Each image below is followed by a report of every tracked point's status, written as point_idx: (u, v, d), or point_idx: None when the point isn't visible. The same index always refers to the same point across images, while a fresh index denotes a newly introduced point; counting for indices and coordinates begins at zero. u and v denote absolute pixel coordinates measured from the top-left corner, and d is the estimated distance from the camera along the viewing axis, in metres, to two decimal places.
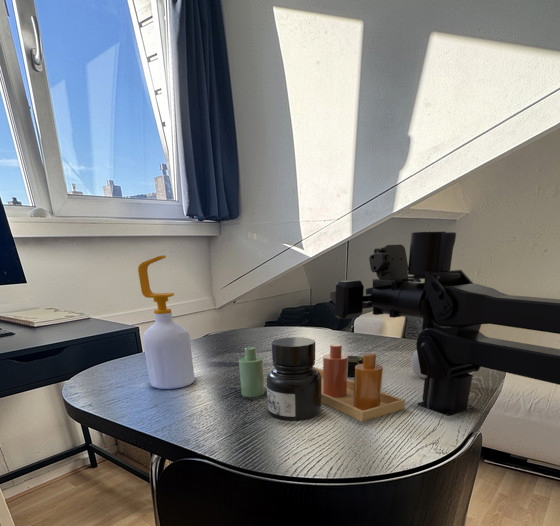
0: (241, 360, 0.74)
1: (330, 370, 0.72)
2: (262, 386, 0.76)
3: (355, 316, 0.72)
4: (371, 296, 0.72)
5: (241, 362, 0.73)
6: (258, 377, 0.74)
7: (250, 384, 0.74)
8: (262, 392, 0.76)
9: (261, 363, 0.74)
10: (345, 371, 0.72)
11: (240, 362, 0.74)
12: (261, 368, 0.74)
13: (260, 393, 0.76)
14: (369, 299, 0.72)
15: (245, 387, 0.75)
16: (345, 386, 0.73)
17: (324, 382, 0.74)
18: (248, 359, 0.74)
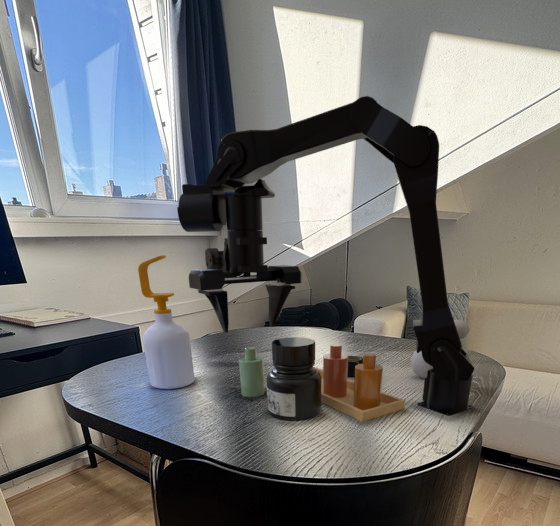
0: (241, 360, 0.74)
1: (330, 370, 0.72)
2: (262, 386, 0.76)
3: (218, 274, 0.63)
4: (229, 272, 0.67)
5: (241, 362, 0.73)
6: (258, 377, 0.74)
7: (250, 384, 0.74)
8: (262, 392, 0.76)
9: (261, 363, 0.74)
10: (345, 371, 0.72)
11: (240, 362, 0.74)
12: (261, 368, 0.74)
13: (260, 393, 0.76)
14: (228, 272, 0.67)
15: (245, 387, 0.75)
16: (345, 386, 0.73)
17: (324, 382, 0.74)
18: (248, 359, 0.74)
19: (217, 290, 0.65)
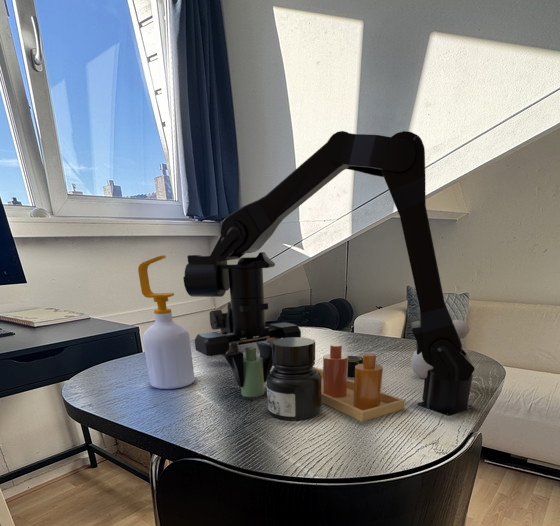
0: None
1: (330, 370, 0.72)
2: (262, 386, 0.76)
3: (222, 340, 0.67)
4: (233, 334, 0.71)
5: None
6: (258, 377, 0.74)
7: (250, 384, 0.74)
8: (262, 392, 0.76)
9: (261, 363, 0.74)
10: (345, 371, 0.72)
11: None
12: (261, 368, 0.74)
13: (260, 393, 0.76)
14: (232, 335, 0.71)
15: (245, 387, 0.75)
16: (345, 386, 0.73)
17: (324, 382, 0.74)
18: (248, 359, 0.74)
19: (234, 352, 0.70)
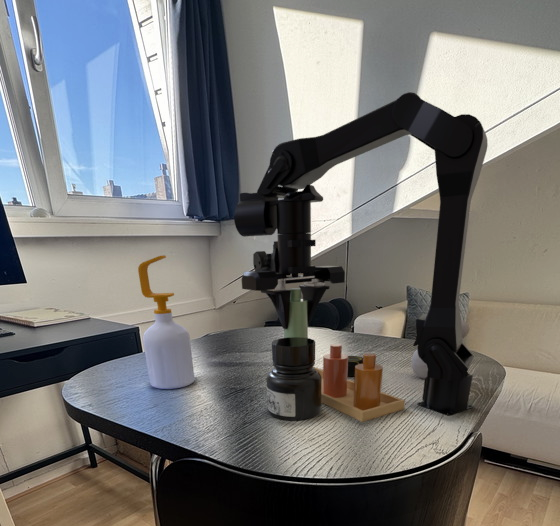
0: None
1: (330, 370, 0.72)
2: (306, 328, 0.75)
3: (271, 275, 0.67)
4: (279, 273, 0.71)
5: None
6: (303, 318, 0.74)
7: (295, 325, 0.74)
8: (306, 334, 0.76)
9: (306, 304, 0.73)
10: (345, 371, 0.72)
11: None
12: (306, 309, 0.74)
13: (304, 335, 0.75)
14: (279, 273, 0.70)
15: (289, 328, 0.74)
16: (345, 386, 0.73)
17: (324, 382, 0.74)
18: (293, 299, 0.73)
19: (281, 289, 0.70)
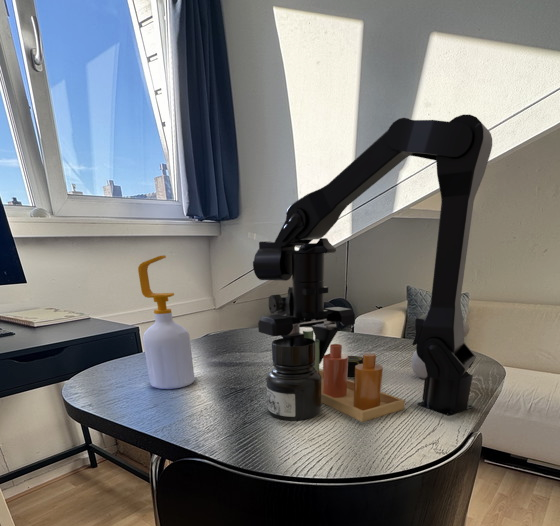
0: None
1: (330, 370, 0.72)
2: (318, 367, 0.80)
3: (287, 322, 0.71)
4: (293, 317, 0.75)
5: None
6: (315, 358, 0.78)
7: None
8: None
9: (318, 345, 0.78)
10: (345, 371, 0.72)
11: None
12: (318, 349, 0.78)
13: None
14: (293, 318, 0.75)
15: None
16: (345, 386, 0.73)
17: (324, 382, 0.74)
18: None
19: (295, 333, 0.74)
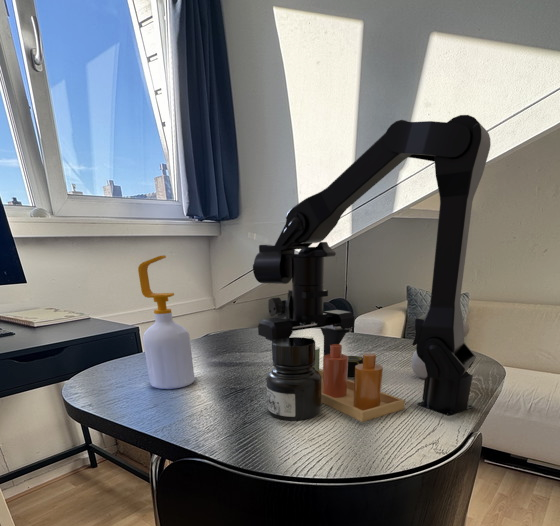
0: None
1: (330, 370, 0.72)
2: None
3: (286, 325, 0.72)
4: (293, 320, 0.76)
5: None
6: (315, 365, 0.79)
7: None
8: None
9: (318, 351, 0.78)
10: (345, 371, 0.72)
11: None
12: (318, 356, 0.79)
13: None
14: (293, 321, 0.75)
15: None
16: (345, 386, 0.73)
17: (324, 382, 0.74)
18: None
19: None
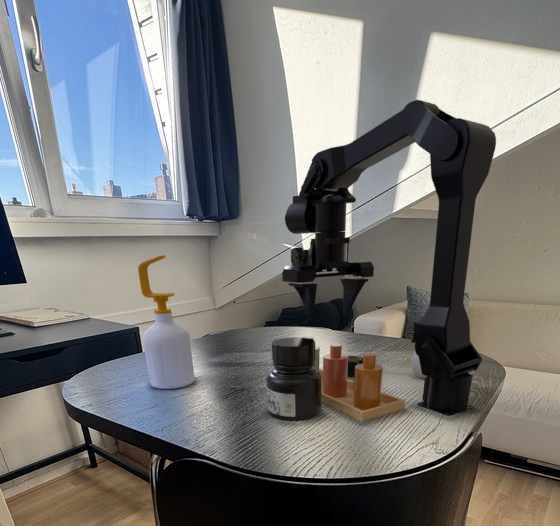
0: None
1: (330, 370, 0.72)
2: None
3: (311, 269, 0.75)
4: (316, 267, 0.79)
5: None
6: (315, 365, 0.79)
7: None
8: None
9: (318, 351, 0.78)
10: (345, 371, 0.72)
11: None
12: (318, 356, 0.79)
13: None
14: (316, 267, 0.78)
15: None
16: (345, 386, 0.73)
17: (324, 382, 0.74)
18: None
19: (308, 283, 0.76)
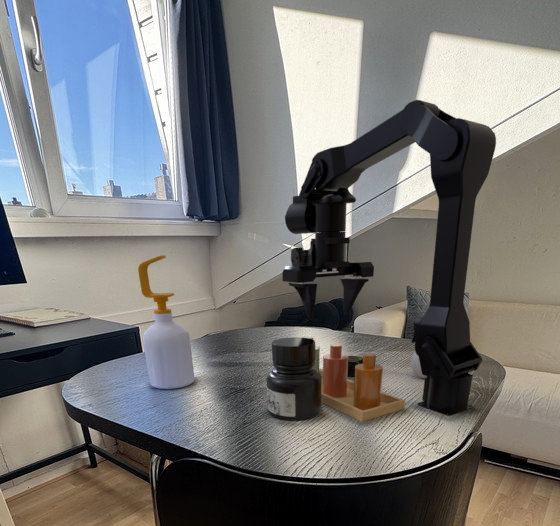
0: None
1: (330, 370, 0.72)
2: None
3: (311, 269, 0.75)
4: (316, 267, 0.79)
5: None
6: (315, 365, 0.79)
7: None
8: None
9: (318, 351, 0.78)
10: (345, 371, 0.72)
11: None
12: (318, 356, 0.79)
13: None
14: (316, 268, 0.78)
15: None
16: (345, 386, 0.73)
17: (324, 382, 0.74)
18: None
19: (308, 283, 0.76)
